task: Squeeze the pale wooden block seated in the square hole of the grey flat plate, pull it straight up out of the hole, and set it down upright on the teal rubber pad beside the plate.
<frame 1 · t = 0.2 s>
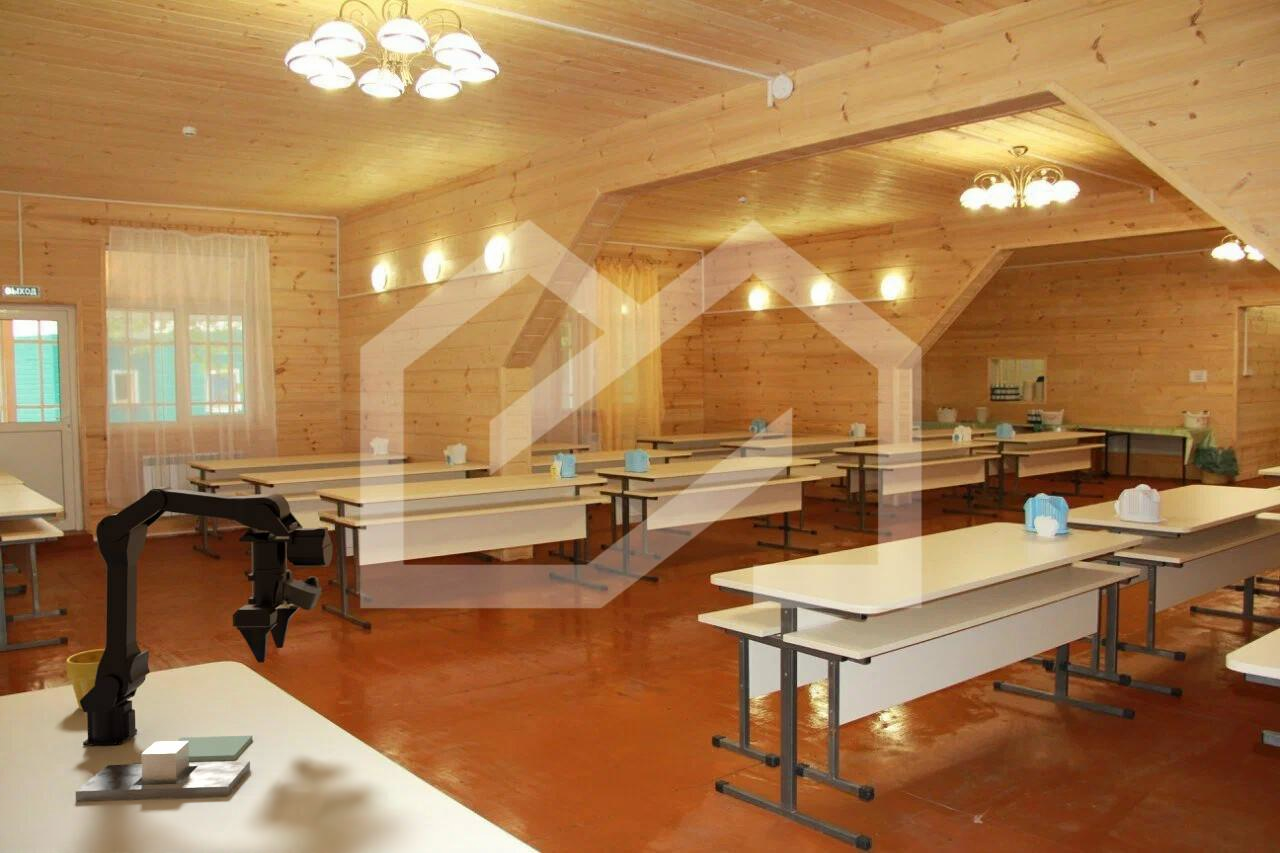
hand: (270, 654, 169), 14 cm above the table, fingers open, 9 cm apart
teal pad: (207, 750, 163), on the table
plant pot: (98, 706, 187), on the table
grey flat plate: (166, 784, 149), on the table
pale wooden block: (166, 785, 149), resting in grey flat plate
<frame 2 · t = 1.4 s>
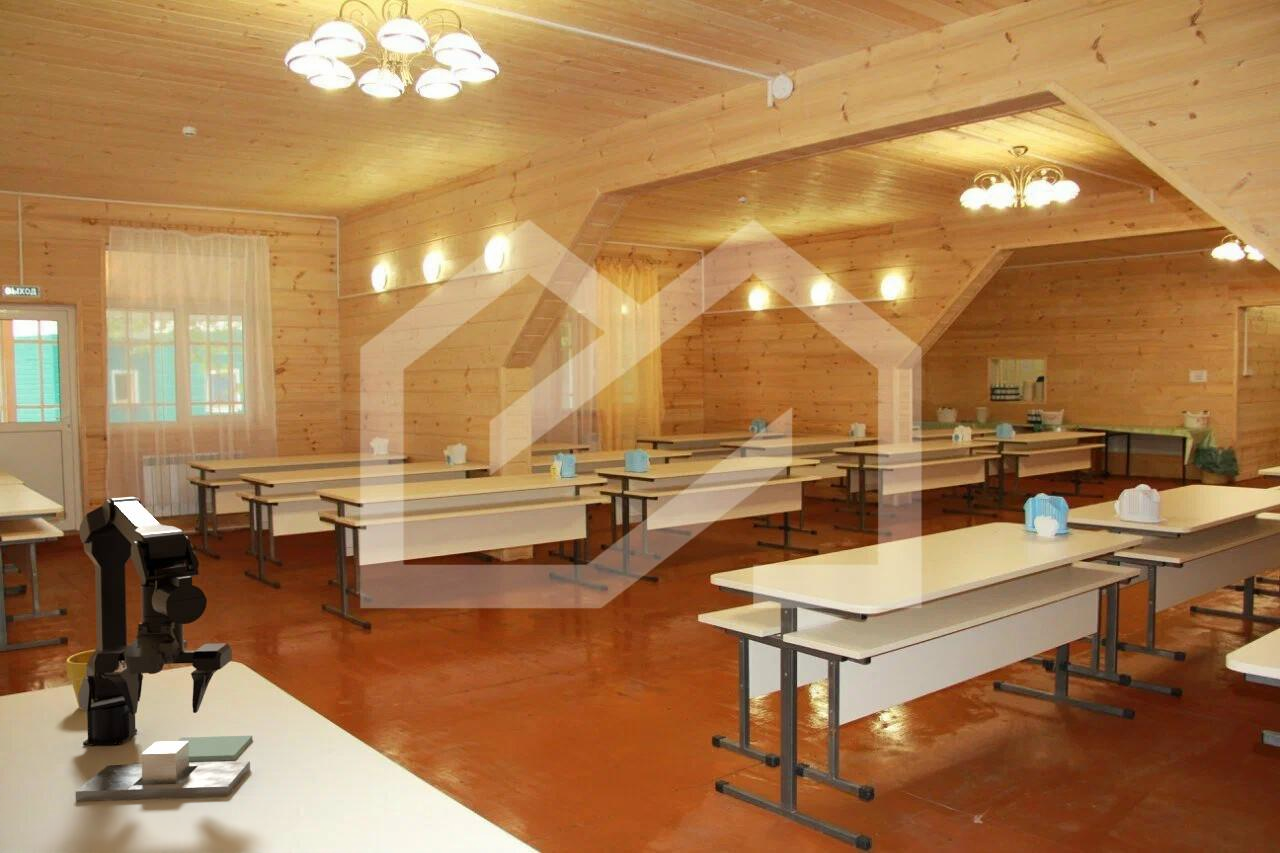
hand: (164, 713, 148), 11 cm above the table, fingers open, 9 cm apart
nothing on the table moved.
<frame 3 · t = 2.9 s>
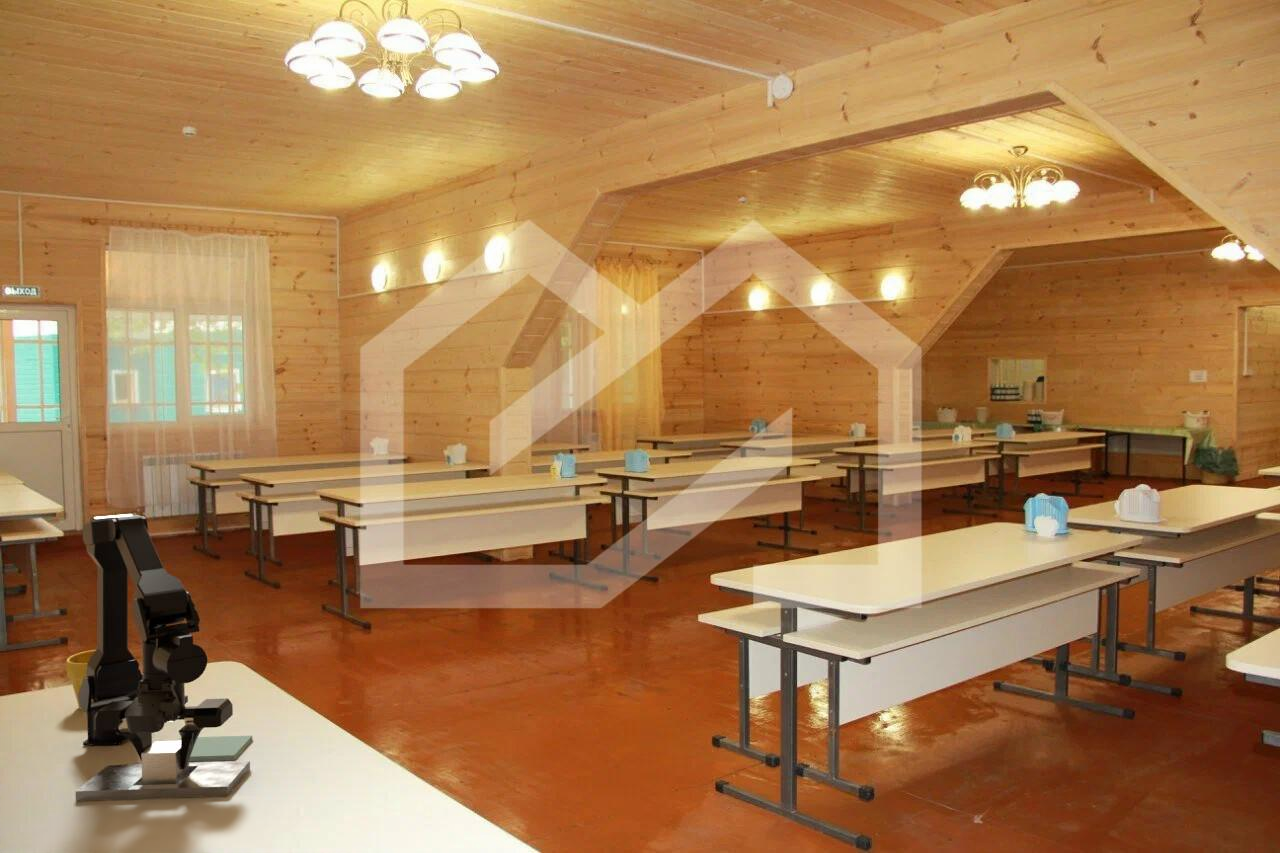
hand: (165, 768, 149), 3 cm above the table, fingers closed on pale wooden block, 5 cm apart
pale wooden block: (166, 785, 149), resting in grey flat plate, touching gripper
everything else where it was.
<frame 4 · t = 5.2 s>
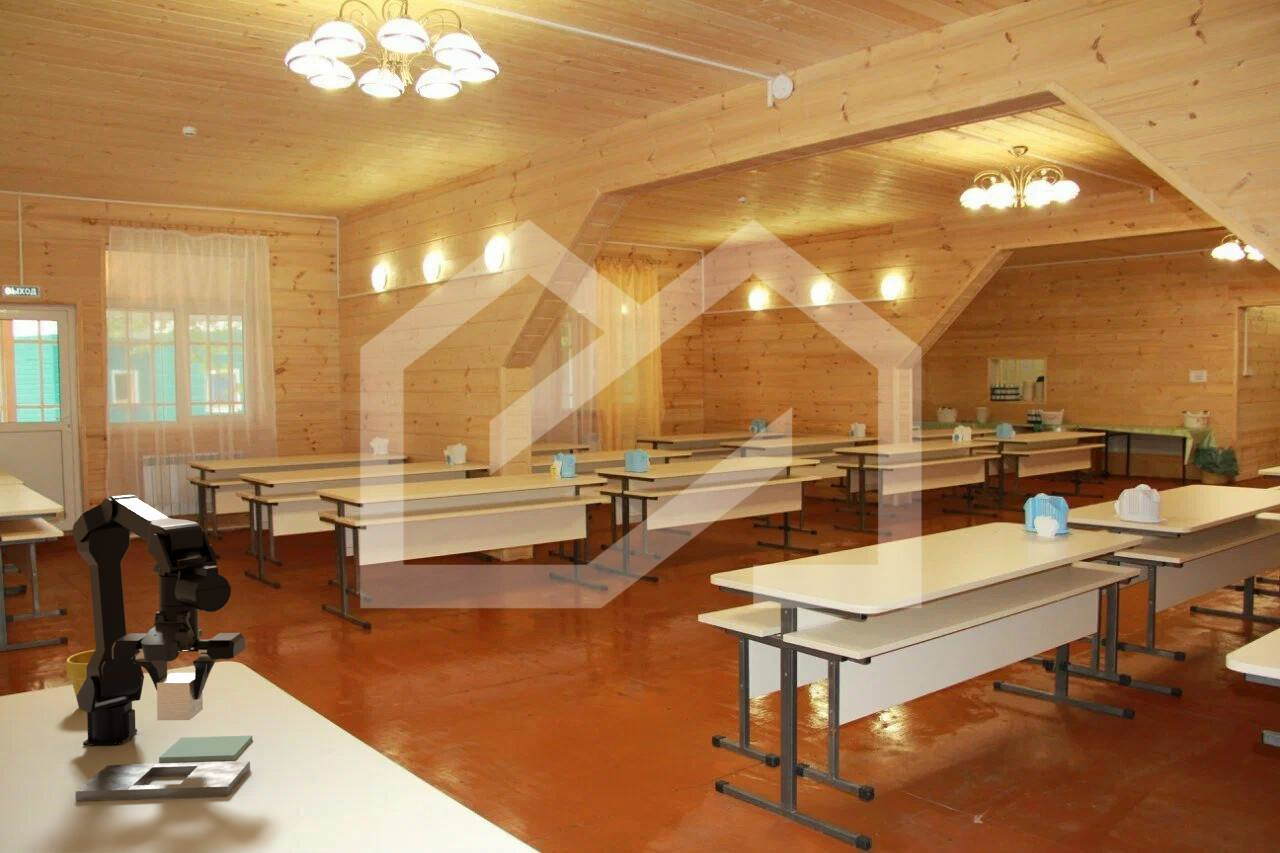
hand: (180, 699, 154), 12 cm above the table, fingers closed on pale wooden block, 5 cm apart
pale wooden block: (180, 714, 154), point 9 cm above the table, touching gripper
everything else where it was.
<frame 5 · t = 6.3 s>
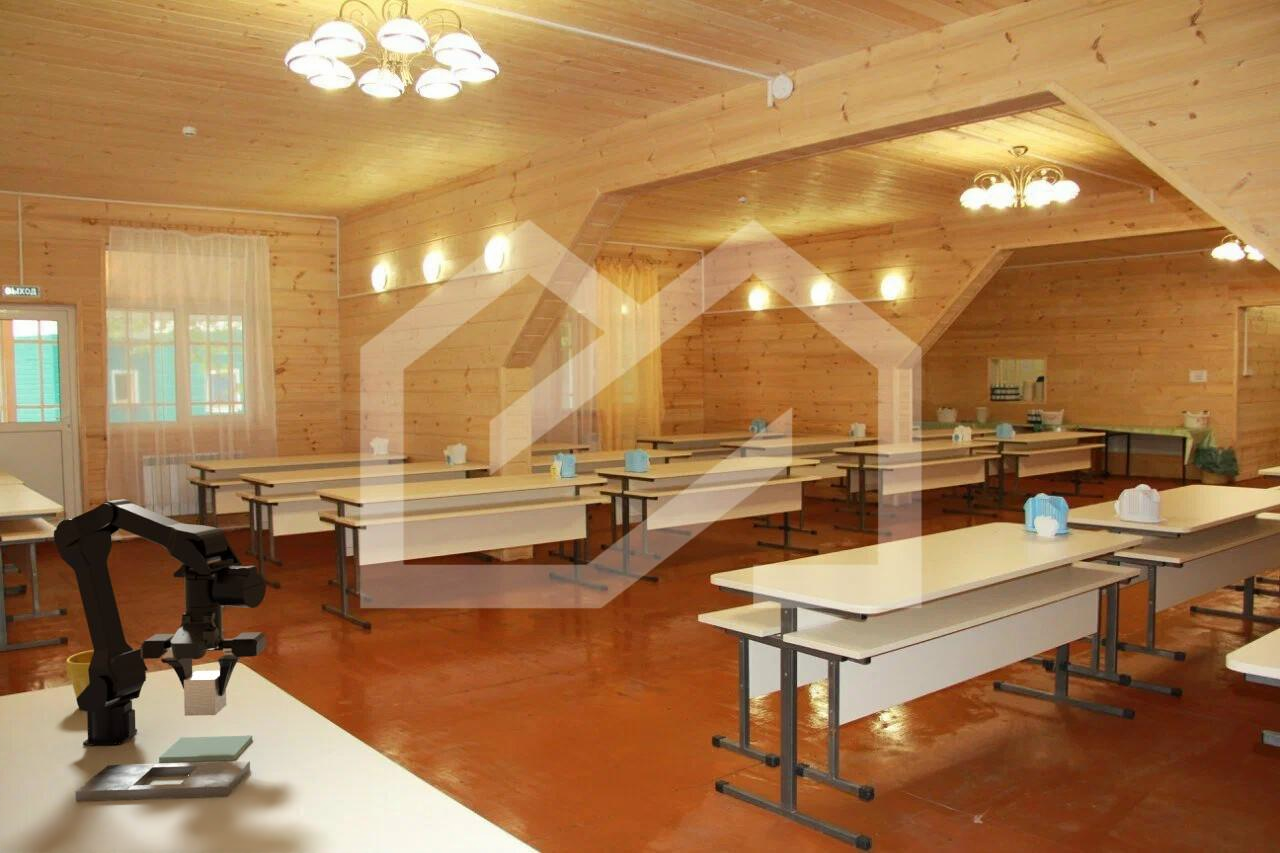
hand: (205, 695, 162), 9 cm above the table, fingers closed on pale wooden block, 5 cm apart
pale wooden block: (205, 710, 163), point 7 cm above the table, touching gripper
everything else where it was.
when the fingers open (4 cm above the table, at t = 7.5 s): pale wooden block drops 1 cm, resting on teal pad.
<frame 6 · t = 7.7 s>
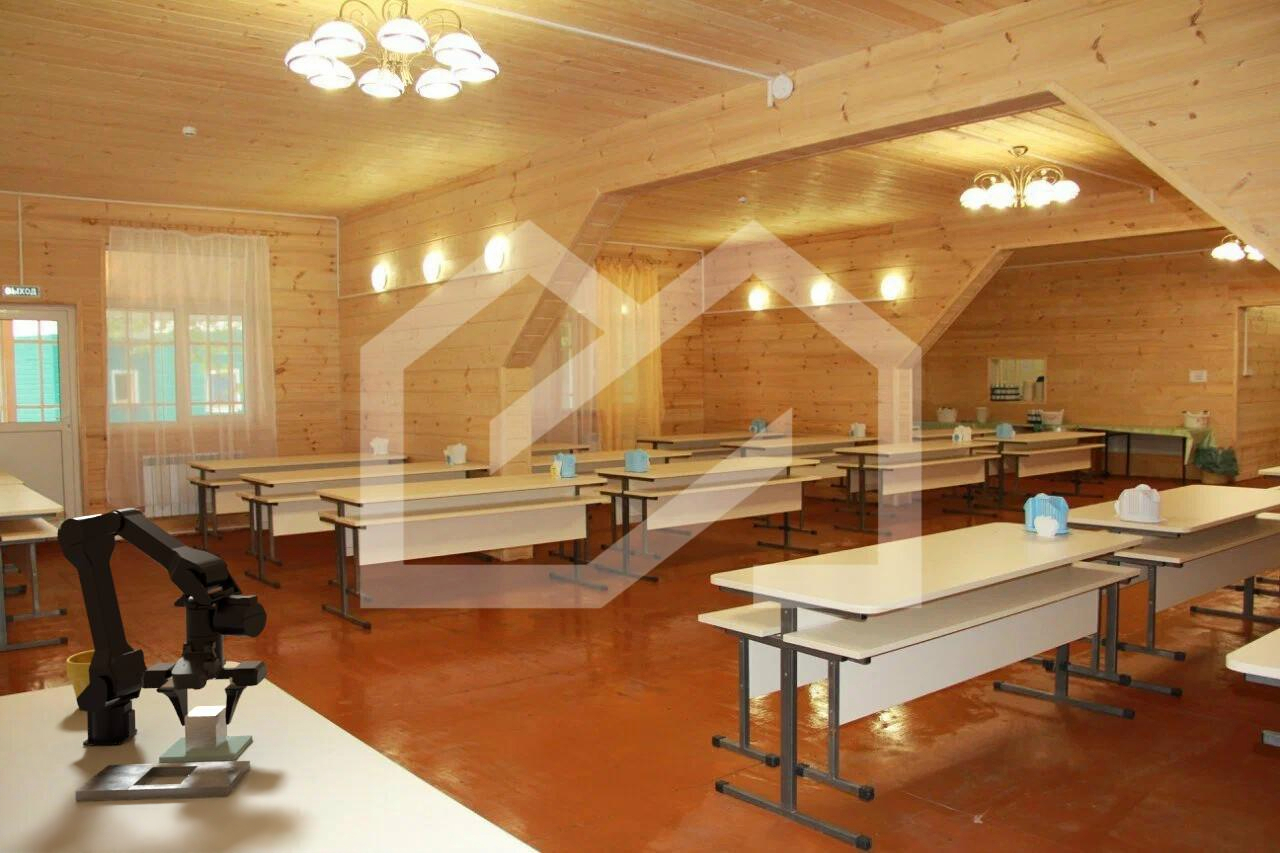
hand: (206, 724, 163), 4 cm above the table, fingers open, 7 cm apart
pale wooden block: (206, 746, 163), point 1 cm above the table, touching teal pad
everything else where it was.
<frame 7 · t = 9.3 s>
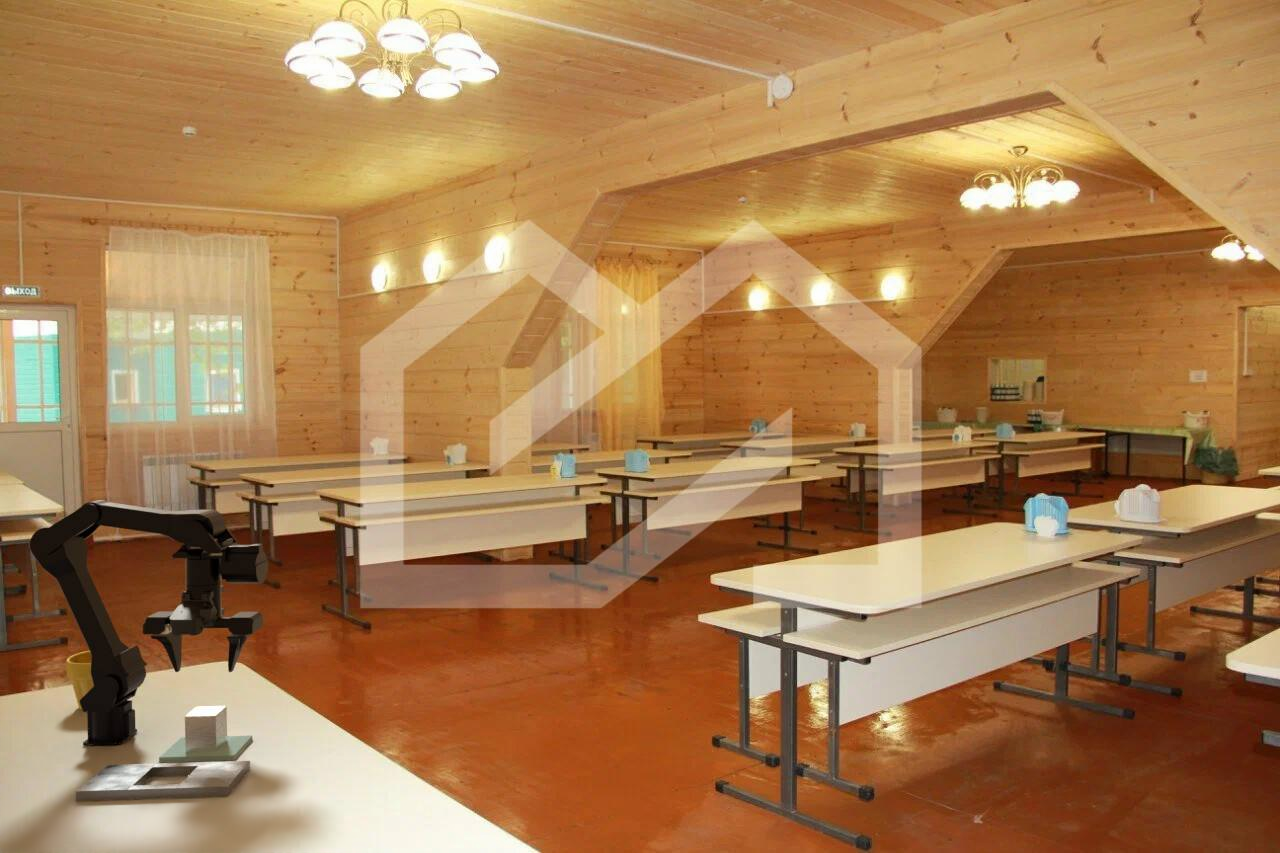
hand: (204, 671, 168), 12 cm above the table, fingers open, 9 cm apart
nothing on the table moved.
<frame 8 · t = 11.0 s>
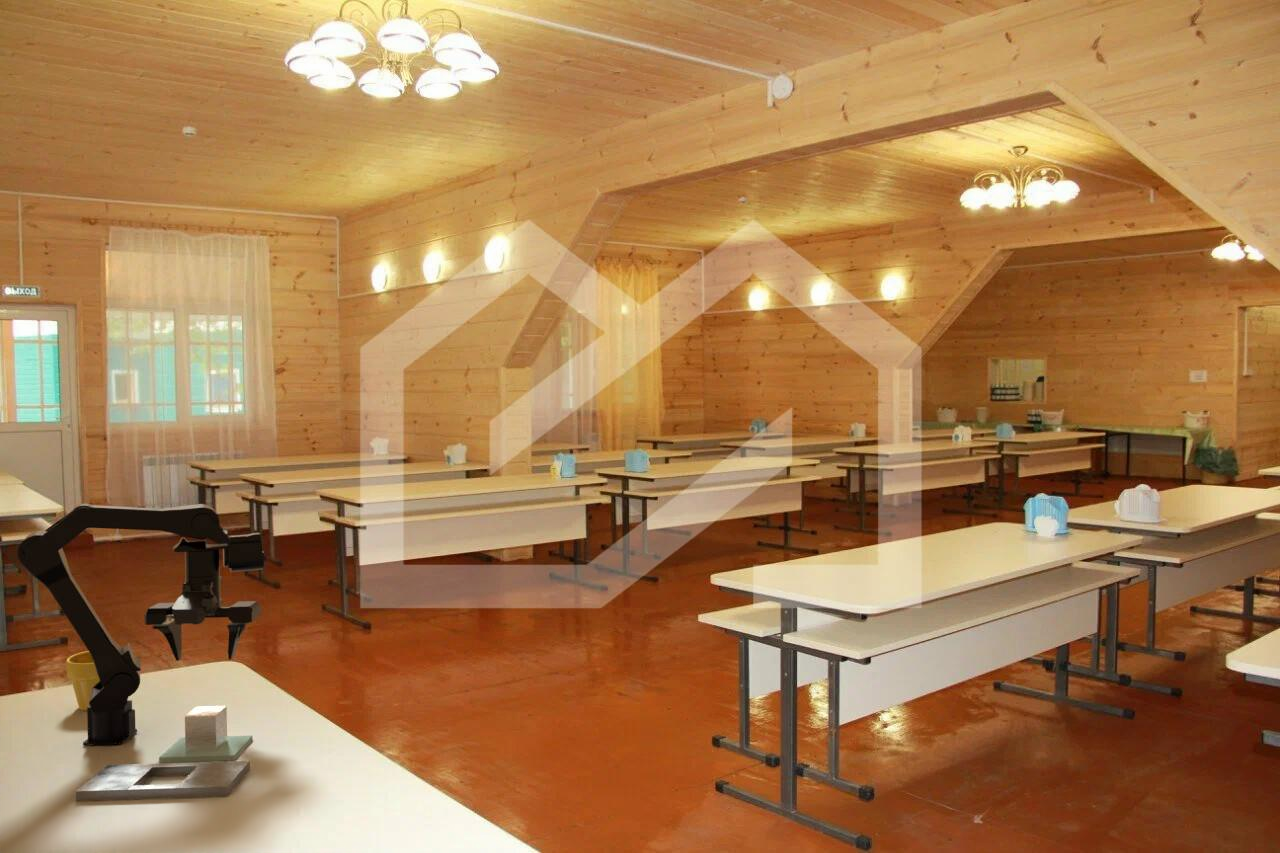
hand: (204, 659, 175), 12 cm above the table, fingers open, 9 cm apart
nothing on the table moved.
at the end: pale wooden block inside the target area on the teal pad (0.1 cm from its centre), point 0.8 cm above the teal pad's base; pale wooden block tilted 0°; the gripper is holding nothing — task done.
